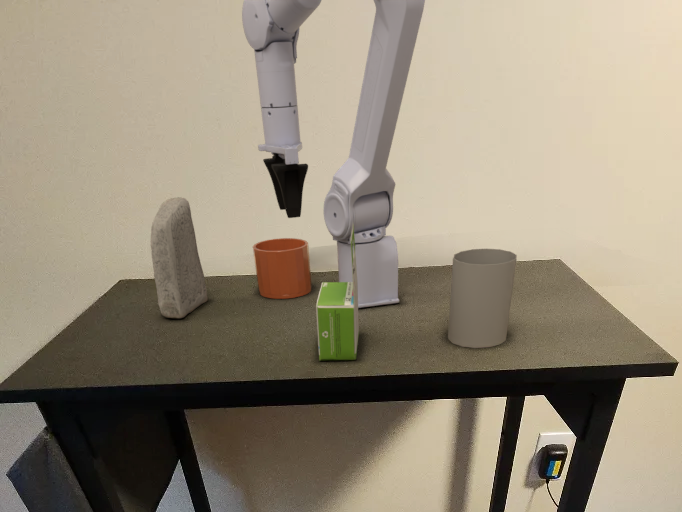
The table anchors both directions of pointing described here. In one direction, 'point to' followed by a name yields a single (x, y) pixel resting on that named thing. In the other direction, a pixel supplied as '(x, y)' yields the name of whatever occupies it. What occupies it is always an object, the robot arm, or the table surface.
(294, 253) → the cup
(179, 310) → the decorative stone
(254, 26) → the robot arm
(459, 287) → the cup
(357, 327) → the ink box
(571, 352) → the table surface
